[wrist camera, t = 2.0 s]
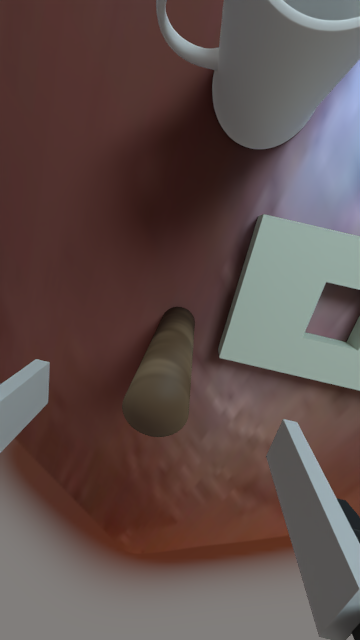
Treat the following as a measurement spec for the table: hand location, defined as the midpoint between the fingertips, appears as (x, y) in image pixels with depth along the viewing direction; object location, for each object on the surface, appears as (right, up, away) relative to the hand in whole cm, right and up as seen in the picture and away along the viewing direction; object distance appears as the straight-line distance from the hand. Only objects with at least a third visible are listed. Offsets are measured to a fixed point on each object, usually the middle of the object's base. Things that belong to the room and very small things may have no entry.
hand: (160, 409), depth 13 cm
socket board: (+17, +6, +11) cm, 21 cm away
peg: (+1, +5, +13) cm, 14 cm away
